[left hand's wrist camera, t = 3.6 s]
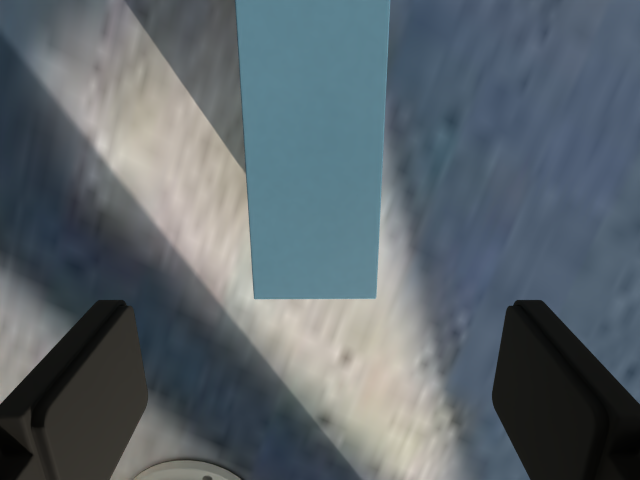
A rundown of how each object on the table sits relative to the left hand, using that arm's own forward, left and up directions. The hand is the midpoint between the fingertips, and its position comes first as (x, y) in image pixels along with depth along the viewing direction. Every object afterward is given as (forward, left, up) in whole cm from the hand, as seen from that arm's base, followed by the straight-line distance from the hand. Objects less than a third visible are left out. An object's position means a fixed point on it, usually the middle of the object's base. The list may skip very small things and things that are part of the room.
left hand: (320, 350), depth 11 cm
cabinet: (+1, +6, -21) cm, 22 cm away
